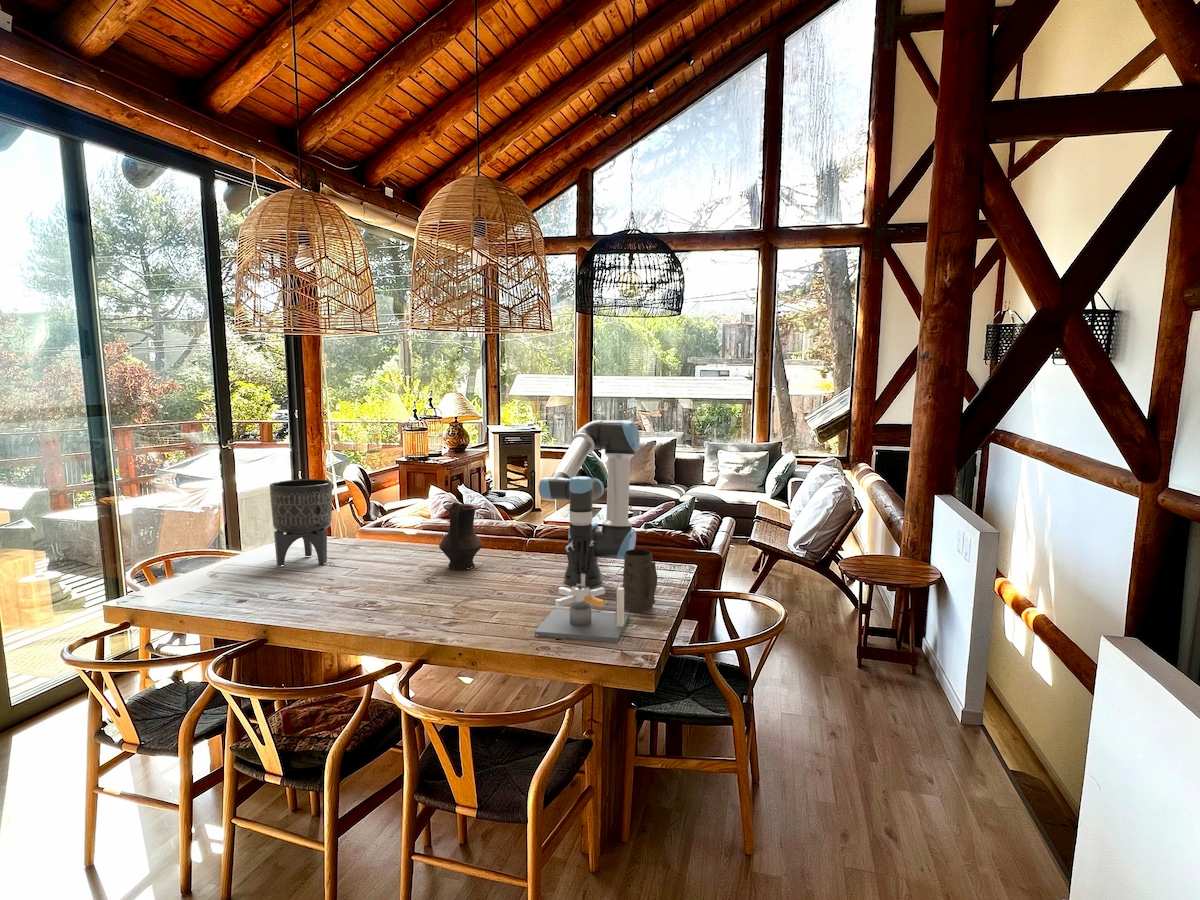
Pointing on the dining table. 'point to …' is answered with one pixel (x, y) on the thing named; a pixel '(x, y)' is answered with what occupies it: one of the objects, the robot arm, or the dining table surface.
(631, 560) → the beer stein
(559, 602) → the capstan
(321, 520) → the planter
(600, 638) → the stand
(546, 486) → the robot arm
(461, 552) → the jug
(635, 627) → the dining table surface
